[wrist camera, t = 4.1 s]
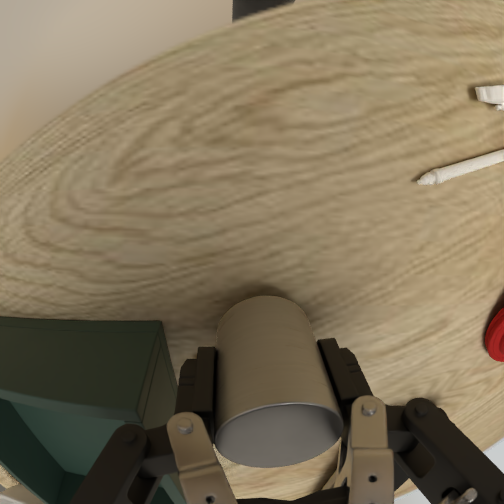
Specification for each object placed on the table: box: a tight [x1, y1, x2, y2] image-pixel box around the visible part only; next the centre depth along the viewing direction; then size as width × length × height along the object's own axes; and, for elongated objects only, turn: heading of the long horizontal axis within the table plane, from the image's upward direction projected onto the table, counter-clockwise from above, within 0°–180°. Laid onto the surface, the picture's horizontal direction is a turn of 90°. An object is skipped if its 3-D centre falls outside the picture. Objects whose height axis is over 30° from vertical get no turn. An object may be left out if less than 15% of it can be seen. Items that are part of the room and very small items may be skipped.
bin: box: [0, 317, 187, 504], centre depth 16 cm, size 20×16×6 cm
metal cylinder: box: [214, 296, 344, 468], centre depth 12 cm, size 4×4×6 cm
